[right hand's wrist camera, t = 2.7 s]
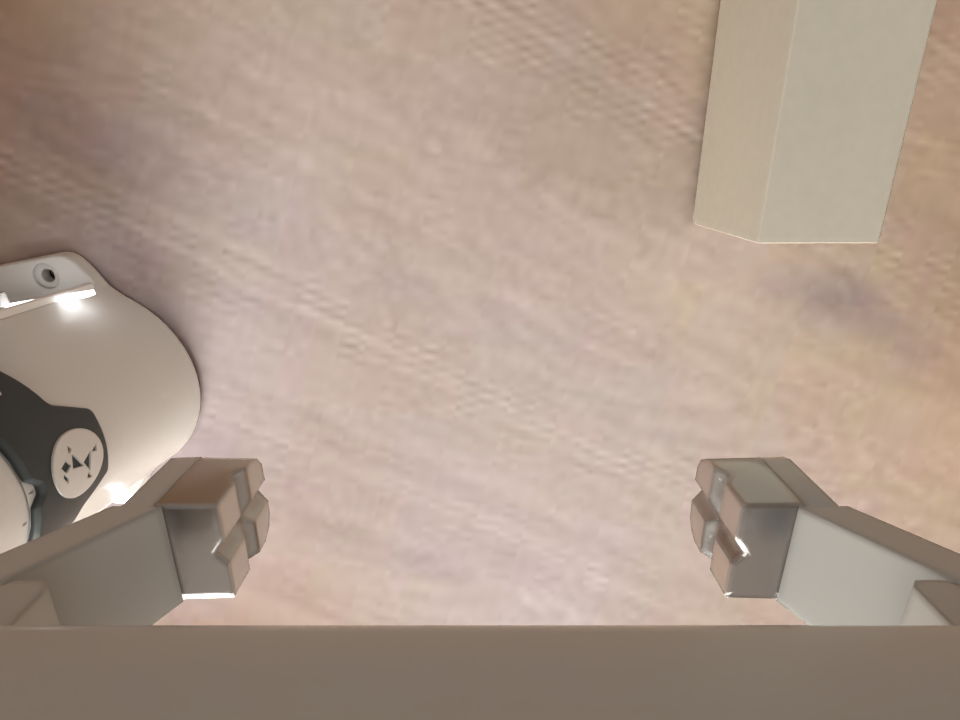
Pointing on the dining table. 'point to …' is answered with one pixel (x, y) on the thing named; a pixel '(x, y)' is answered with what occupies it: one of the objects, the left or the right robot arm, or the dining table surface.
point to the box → (808, 117)
